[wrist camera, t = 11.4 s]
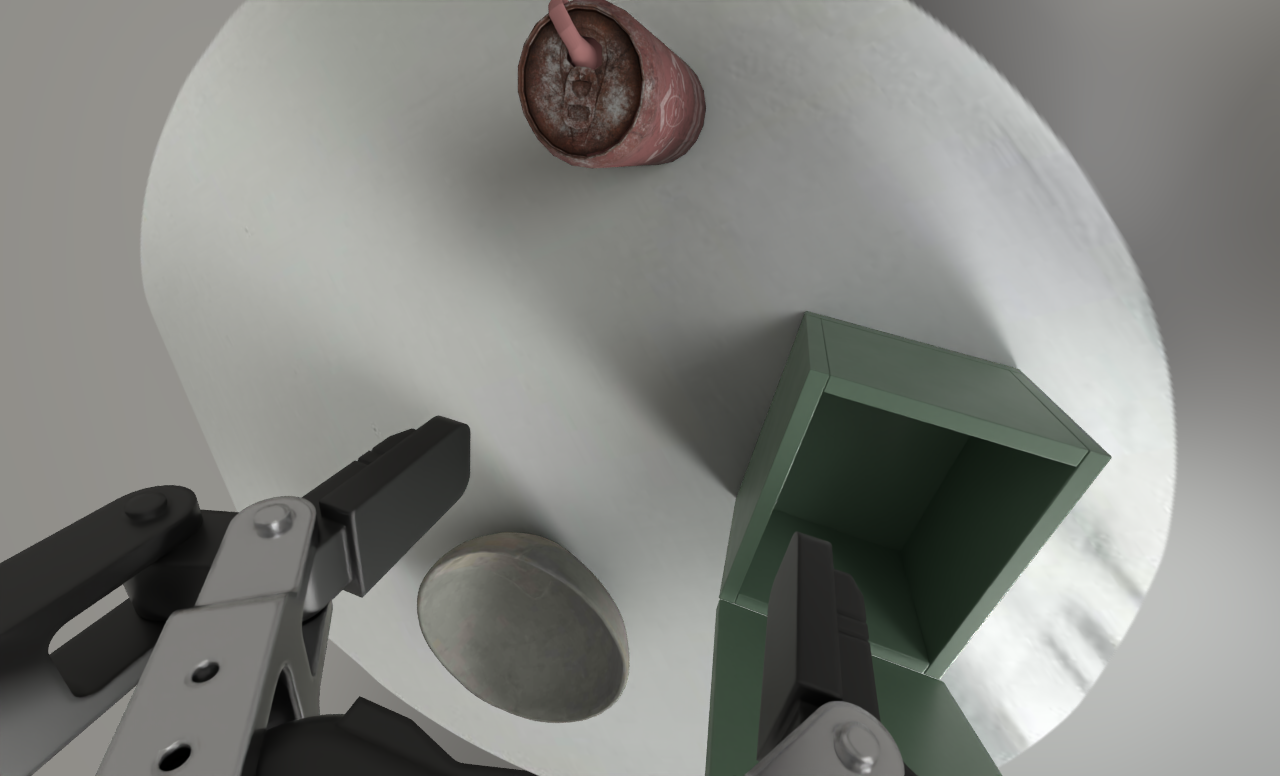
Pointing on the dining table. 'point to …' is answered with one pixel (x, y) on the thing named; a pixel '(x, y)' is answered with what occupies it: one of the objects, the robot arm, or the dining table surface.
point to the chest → (906, 483)
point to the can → (607, 89)
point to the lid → (907, 700)
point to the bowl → (525, 627)
